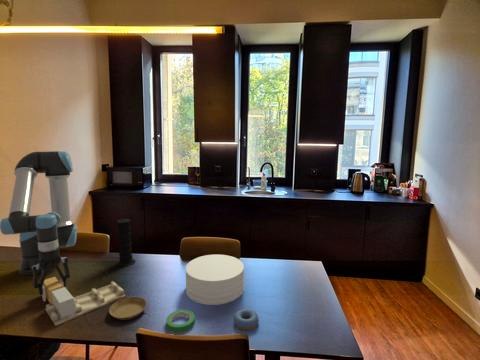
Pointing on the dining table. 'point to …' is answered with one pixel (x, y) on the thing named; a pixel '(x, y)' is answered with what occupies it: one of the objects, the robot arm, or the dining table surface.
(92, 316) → the dining table surface
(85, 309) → the rack
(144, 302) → the plant saucer
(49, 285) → the tan rectangular block
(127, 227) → the handle grip
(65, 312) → the grey bar
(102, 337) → the dining table surface
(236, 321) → the doughnut
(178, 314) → the tape roll
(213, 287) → the plate stack
